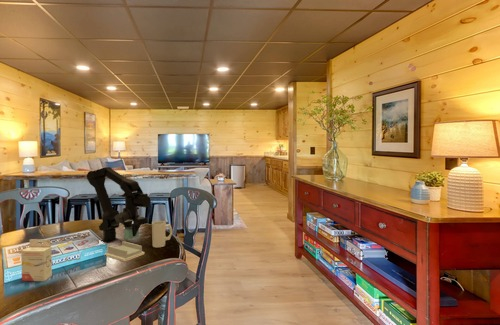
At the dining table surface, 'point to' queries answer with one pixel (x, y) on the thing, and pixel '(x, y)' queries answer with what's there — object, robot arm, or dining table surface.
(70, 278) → the dining table surface
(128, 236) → the block
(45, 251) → the ink cartridge box
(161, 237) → the mug
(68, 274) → the dining table surface
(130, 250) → the mount board
